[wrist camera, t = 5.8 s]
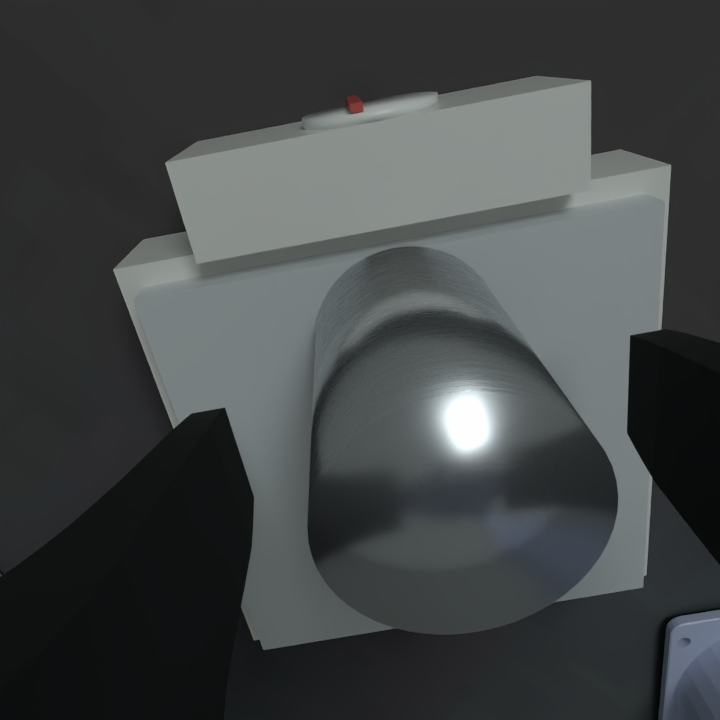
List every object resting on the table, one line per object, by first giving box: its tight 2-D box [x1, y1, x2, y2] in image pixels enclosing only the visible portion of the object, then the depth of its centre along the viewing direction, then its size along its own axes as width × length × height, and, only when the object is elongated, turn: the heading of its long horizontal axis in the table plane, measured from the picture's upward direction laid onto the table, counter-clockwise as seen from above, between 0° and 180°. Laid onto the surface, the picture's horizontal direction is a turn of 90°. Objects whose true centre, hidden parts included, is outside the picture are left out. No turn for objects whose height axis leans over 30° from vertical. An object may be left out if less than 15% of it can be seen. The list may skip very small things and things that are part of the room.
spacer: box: [307, 246, 618, 635], centre depth 10 cm, size 4×4×6 cm
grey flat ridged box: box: [113, 76, 671, 650], centre depth 16 cm, size 14×12×3 cm
